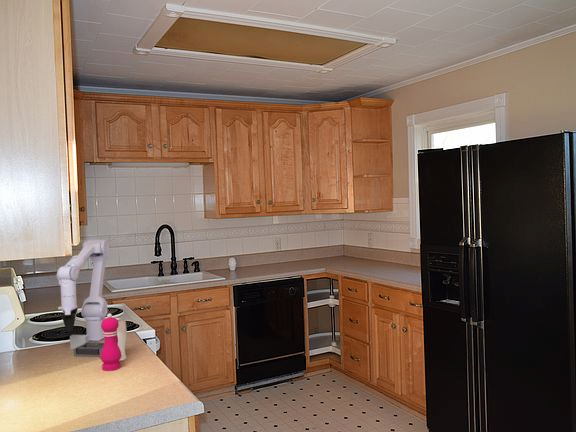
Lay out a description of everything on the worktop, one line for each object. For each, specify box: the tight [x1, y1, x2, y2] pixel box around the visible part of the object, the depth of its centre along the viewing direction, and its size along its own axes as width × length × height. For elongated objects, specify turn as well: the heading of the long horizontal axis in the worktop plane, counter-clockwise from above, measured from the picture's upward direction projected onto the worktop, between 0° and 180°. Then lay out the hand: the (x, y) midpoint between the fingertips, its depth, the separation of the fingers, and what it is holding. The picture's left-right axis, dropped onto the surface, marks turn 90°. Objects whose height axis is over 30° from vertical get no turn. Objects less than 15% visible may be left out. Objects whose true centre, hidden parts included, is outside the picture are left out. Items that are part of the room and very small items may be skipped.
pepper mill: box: [99, 312, 122, 372], centre depth 182 cm, size 7×7×20 cm
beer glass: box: [116, 318, 128, 362], centre depth 192 cm, size 7×7×15 cm
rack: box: [73, 341, 104, 358], centre depth 201 cm, size 9×12×3 cm
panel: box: [69, 334, 90, 350], centre depth 209 cm, size 2×7×6 cm, turn 79°
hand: (70, 328), depth 204 cm, fingers open, 7 cm apart
